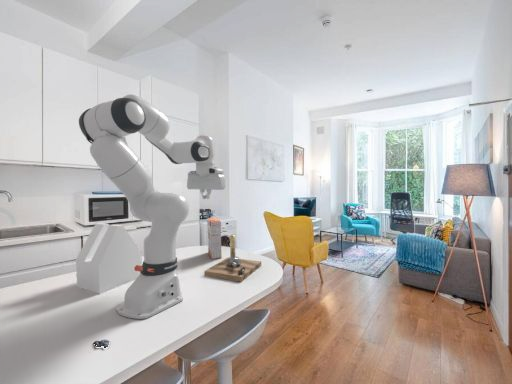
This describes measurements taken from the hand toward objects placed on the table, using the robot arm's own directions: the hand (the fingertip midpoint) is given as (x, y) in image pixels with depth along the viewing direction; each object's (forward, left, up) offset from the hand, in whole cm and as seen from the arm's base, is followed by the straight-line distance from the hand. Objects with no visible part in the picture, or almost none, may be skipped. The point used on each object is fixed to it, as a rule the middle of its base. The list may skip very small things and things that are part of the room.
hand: (205, 198), depth 126 cm
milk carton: (-30, +29, -34) cm, 54 cm away
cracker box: (+19, +8, -34) cm, 40 cm away
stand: (+2, -14, -34) cm, 37 cm away
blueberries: (-61, -8, -35) cm, 71 cm away
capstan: (+4, -13, -32) cm, 34 cm away
